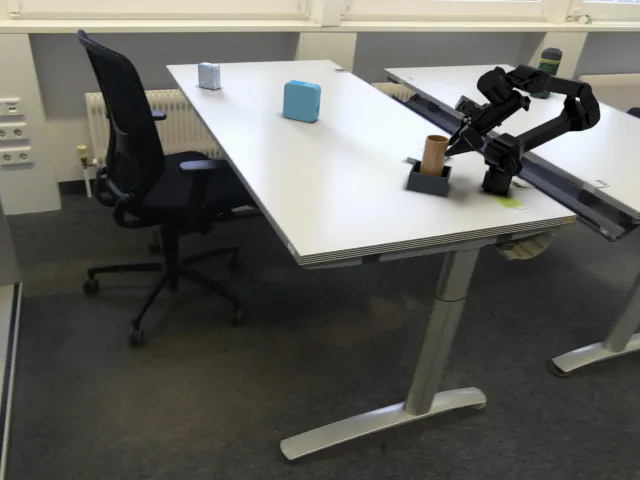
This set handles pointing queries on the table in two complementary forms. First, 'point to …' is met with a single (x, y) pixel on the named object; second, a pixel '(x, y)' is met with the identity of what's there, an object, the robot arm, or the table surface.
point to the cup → (434, 155)
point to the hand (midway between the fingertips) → (445, 150)
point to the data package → (301, 100)
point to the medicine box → (209, 75)
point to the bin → (428, 180)
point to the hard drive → (417, 156)
